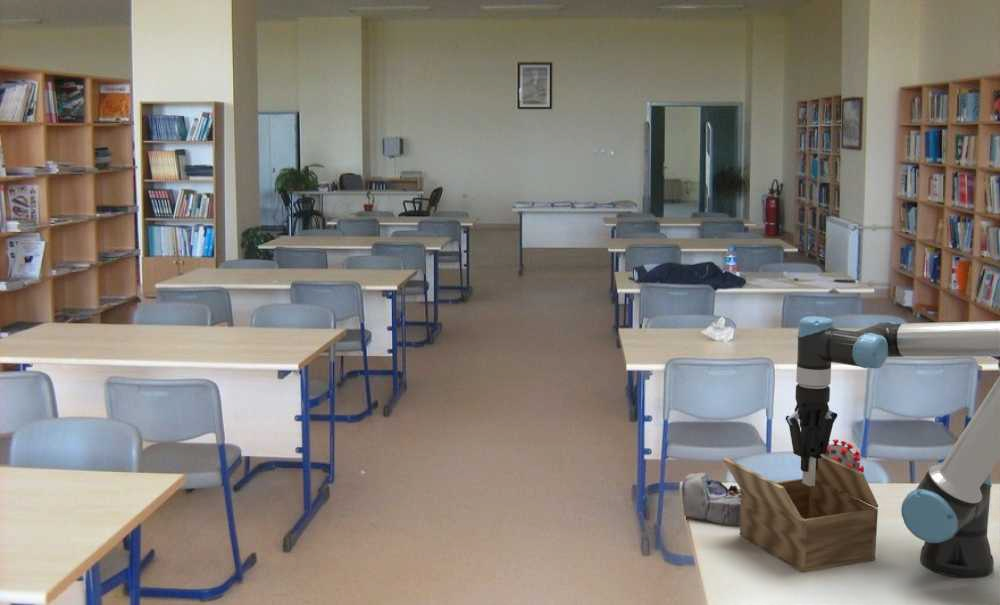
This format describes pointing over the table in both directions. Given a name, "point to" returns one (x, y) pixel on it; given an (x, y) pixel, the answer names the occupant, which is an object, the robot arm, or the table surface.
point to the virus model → (843, 455)
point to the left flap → (762, 488)
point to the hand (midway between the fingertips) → (808, 484)
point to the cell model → (710, 500)
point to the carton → (812, 527)
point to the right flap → (844, 480)
